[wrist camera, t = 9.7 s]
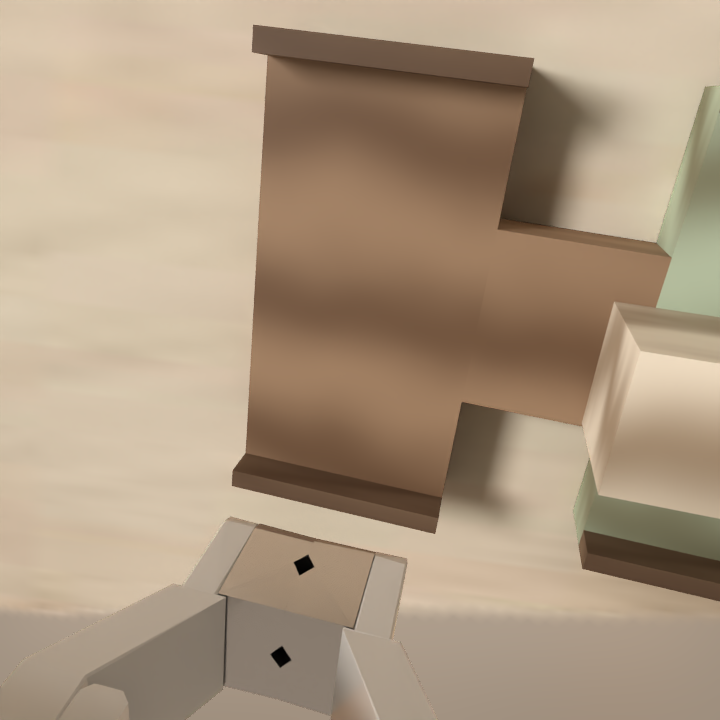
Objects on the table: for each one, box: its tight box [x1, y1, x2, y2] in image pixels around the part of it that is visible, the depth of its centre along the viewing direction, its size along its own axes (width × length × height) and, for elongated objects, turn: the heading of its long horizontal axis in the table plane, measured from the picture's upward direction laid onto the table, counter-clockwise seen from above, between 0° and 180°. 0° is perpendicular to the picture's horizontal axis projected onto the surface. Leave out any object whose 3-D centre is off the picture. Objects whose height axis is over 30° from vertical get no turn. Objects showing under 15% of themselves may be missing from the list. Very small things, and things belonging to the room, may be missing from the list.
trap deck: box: [232, 25, 720, 601], centre depth 24 cm, size 18×22×4 cm
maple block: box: [582, 302, 720, 519], centre depth 21 cm, size 5×5×5 cm
